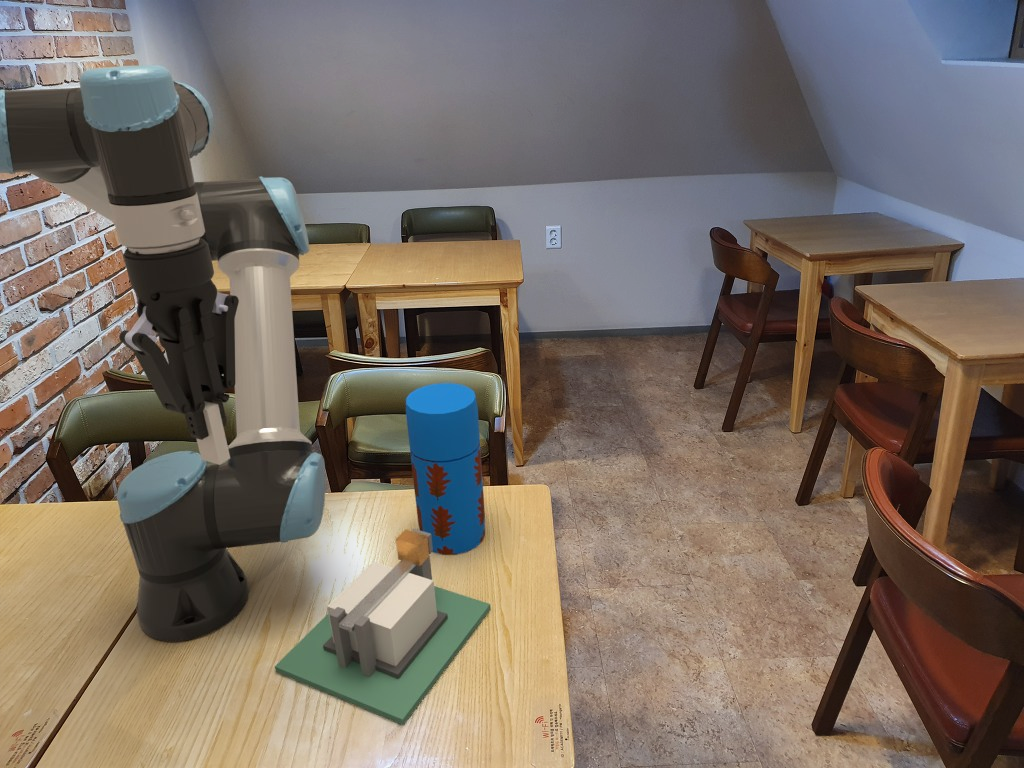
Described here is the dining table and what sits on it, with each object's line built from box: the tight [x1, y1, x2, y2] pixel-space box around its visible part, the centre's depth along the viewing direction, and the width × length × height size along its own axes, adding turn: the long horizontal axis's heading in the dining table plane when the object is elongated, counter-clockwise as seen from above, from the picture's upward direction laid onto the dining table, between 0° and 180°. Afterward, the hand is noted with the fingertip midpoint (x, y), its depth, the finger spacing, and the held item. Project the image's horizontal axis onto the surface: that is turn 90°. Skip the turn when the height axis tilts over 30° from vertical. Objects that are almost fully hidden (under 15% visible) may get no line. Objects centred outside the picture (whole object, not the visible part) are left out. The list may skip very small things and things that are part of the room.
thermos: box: [405, 382, 486, 556], centre depth 121 cm, size 11×11×25 cm
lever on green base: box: [274, 528, 492, 726], centre depth 103 cm, size 20×22×11 cm
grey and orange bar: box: [339, 529, 430, 632], centre depth 102 cm, size 4×16×4 cm, turn 153°
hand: (215, 458), depth 83 cm, fingers closed
